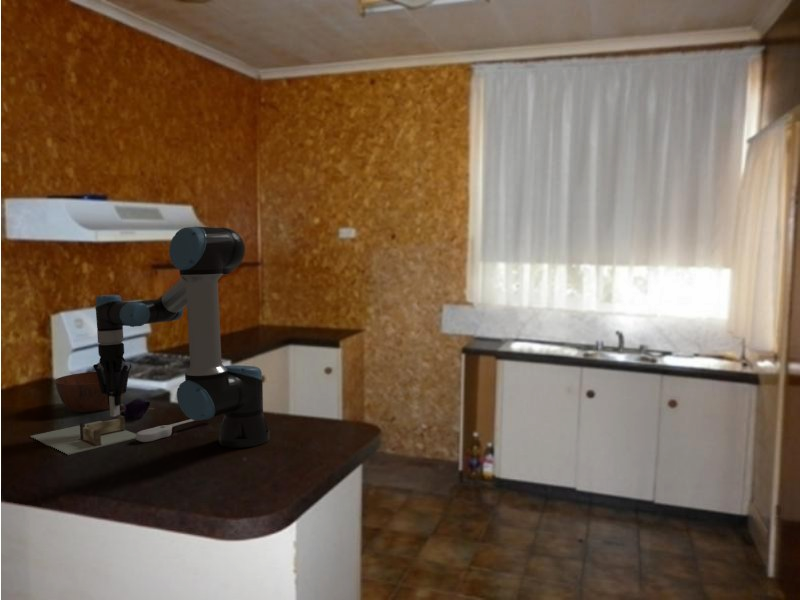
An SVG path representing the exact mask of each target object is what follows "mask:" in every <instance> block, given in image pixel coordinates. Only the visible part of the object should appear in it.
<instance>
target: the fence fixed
mask: <svg viewBox="0 0 800 600" xmlns="http://www.w3.org/2000/svg"><path fill="white" fill-rule="evenodd" d="M85 424H86V423H85V422H83V421H81V422H79V425H80V438H81V440H83V439H85V440H88V441H90V442H92V443H94V445H95V446H100V445H101V435H100V430H99V429H97V430H94V429H91V428H89V427H85Z"/></svg>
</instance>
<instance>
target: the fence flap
mask: <svg viewBox="0 0 800 600" xmlns="http://www.w3.org/2000/svg"><path fill="white" fill-rule="evenodd" d="M125 418H126V417H124V416H122V415H119V416H118V417H117V418H115V419H114V418H113V419H109V420H105V421H104V420H103V421H102V422H98V421H97V422H98V423H93V422H92V423H93V424H88V423H87V424H88V425H87V427H89V428H91V429H94V430H97V429H99V430H100V434H103V433H108V432H113V431H117V430H126V419H125Z"/></svg>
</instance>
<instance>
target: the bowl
mask: <svg viewBox="0 0 800 600" xmlns="http://www.w3.org/2000/svg"><path fill="white" fill-rule="evenodd" d="M54 384H55V388H56V391H57V393H58V396H59V398H60V401H61V402H62V403H63V405H64V407H66V409H68V410H69V411H71V412H76V413H93V412H95V413H96V412H103V411H106V410H110V405H108V397H107V395H106V394H102V392H101V388H100V385H99V381H98V377H97V373H96V371H85V372H79V373H72V374H69V375H64V376H61V377H58V378H56V379H55V380H54ZM124 396H125V393H123V394H121V401H122V400H123V398H124Z"/></svg>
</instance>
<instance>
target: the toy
mask: <svg viewBox="0 0 800 600" xmlns="http://www.w3.org/2000/svg"><path fill="white" fill-rule="evenodd" d="M119 406H120V415H119V416H124V417H125V418H128V419H129V418H131V419H134V418H136V419H142V418H143V417H144V415H145V414H146V413H148V410H151V411H152V410H155V408H153V407H151V402H150V401H146V400H143V398H140V397H136V398H135V399H133V400H132V401H130V402H128V403H126V404H125V405H124V404H123V403H121V405H119Z"/></svg>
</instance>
